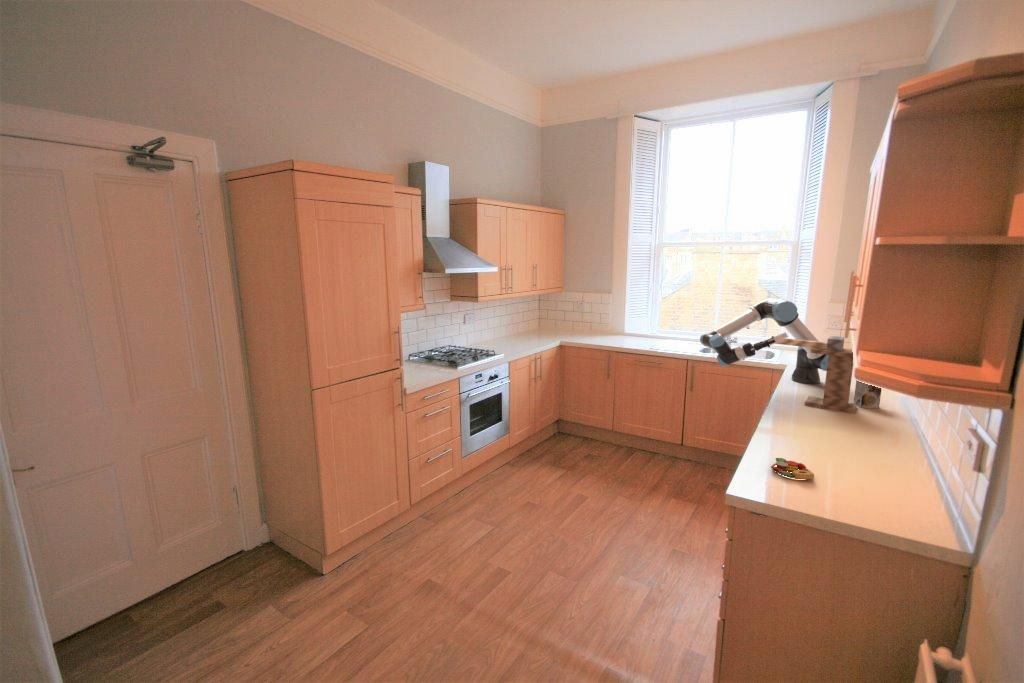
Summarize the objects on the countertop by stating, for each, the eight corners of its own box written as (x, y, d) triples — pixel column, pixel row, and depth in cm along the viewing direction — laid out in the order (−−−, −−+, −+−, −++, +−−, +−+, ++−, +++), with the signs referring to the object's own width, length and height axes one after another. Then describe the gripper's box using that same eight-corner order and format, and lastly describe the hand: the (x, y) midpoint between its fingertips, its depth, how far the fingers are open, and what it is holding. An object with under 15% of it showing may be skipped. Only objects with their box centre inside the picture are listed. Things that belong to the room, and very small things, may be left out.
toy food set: (814, 486, 157) (815, 477, 157) (770, 477, 163) (771, 469, 163) (811, 470, 169) (812, 462, 168) (770, 462, 175) (770, 454, 174)
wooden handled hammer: (772, 344, 247) (774, 333, 246) (777, 341, 255) (778, 331, 254) (840, 351, 228) (842, 339, 227) (843, 348, 235) (844, 337, 234)
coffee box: (871, 404, 241) (875, 374, 238) (879, 408, 235) (883, 377, 232) (852, 403, 242) (856, 374, 239) (860, 407, 236) (864, 377, 233)
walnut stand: (804, 405, 241) (811, 349, 235) (808, 399, 250) (814, 345, 244) (854, 413, 227) (862, 354, 222) (856, 407, 236) (864, 350, 231)
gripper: (754, 353, 270) (792, 339, 256) (742, 361, 251) (782, 346, 237) (748, 342, 271) (785, 327, 257) (736, 348, 252) (775, 332, 239)
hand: (784, 336), depth 247 cm, fingers open, 13 cm apart
